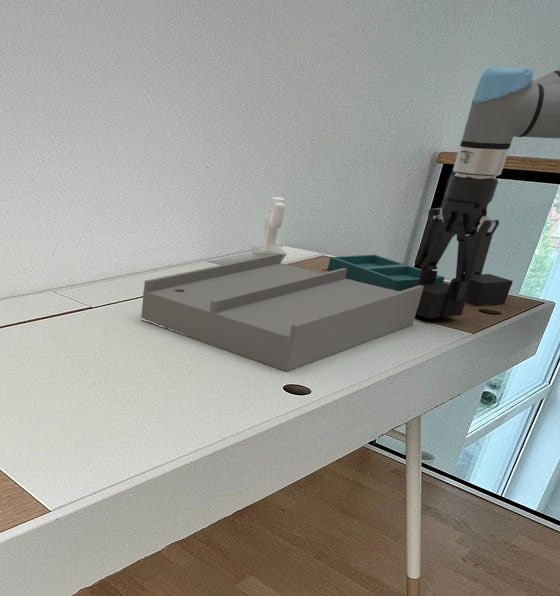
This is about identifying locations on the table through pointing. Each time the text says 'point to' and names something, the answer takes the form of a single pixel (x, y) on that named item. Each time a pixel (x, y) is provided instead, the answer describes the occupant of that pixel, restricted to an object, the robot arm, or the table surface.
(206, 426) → the table surface
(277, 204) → the figurine
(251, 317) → the desk organizer
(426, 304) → the pad
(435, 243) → the robot arm
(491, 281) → the pad
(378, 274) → the back divided tray
